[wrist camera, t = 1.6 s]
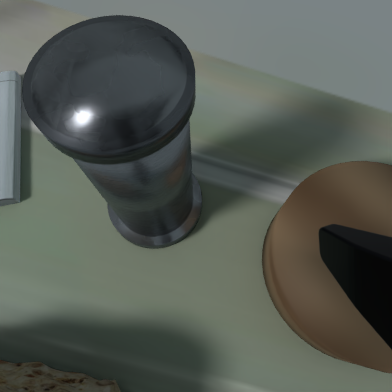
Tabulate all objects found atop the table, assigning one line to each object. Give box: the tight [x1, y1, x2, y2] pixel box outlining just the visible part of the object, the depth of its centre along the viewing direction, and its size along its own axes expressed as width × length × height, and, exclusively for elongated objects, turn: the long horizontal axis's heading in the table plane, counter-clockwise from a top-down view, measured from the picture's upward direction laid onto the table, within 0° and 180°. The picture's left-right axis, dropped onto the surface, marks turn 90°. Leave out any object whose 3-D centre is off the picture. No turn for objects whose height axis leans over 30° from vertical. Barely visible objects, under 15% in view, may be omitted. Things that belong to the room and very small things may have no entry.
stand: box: [262, 161, 392, 373], centre depth 19 cm, size 12×12×4 cm
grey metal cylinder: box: [22, 15, 202, 249], centre depth 17 cm, size 7×7×13 cm
